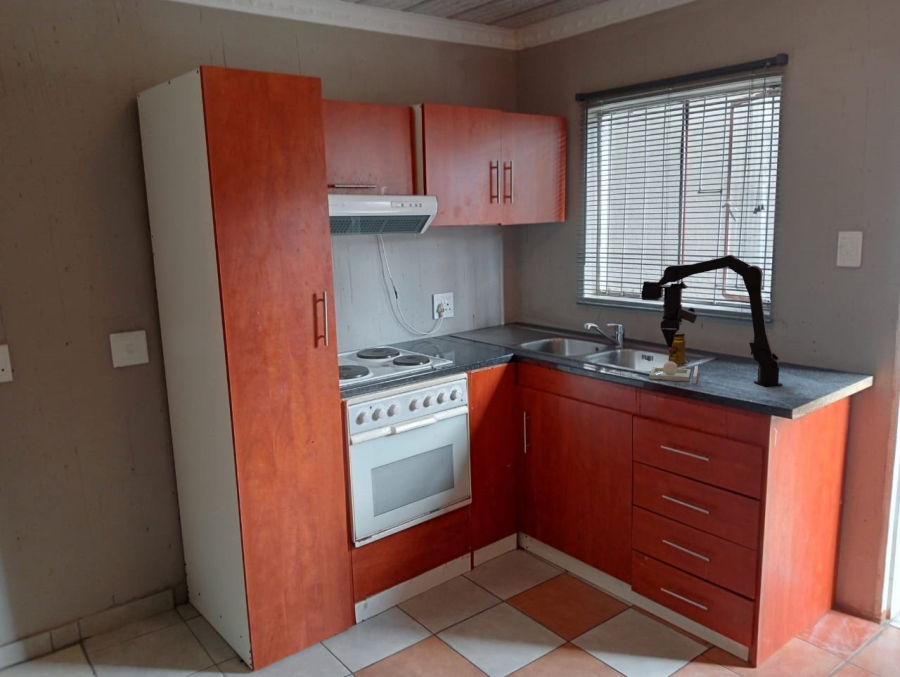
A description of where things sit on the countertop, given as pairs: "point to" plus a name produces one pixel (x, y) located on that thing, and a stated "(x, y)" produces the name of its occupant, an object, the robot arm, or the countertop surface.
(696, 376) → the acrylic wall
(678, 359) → the condiment
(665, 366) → the ball
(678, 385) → the countertop surface
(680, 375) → the tray
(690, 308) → the robot arm
